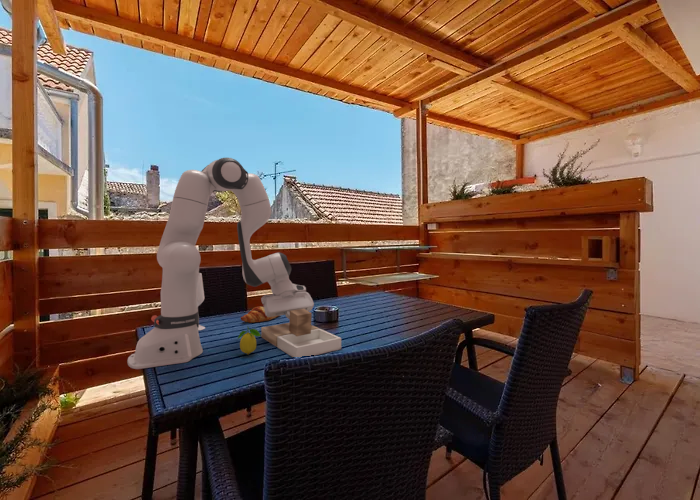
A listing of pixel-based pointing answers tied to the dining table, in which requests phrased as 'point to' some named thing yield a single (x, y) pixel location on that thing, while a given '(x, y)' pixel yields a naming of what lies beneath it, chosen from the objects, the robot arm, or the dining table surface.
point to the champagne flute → (200, 295)
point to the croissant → (256, 315)
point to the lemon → (248, 340)
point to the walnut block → (300, 322)
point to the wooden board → (277, 332)
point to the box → (309, 343)
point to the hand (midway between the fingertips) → (295, 321)
